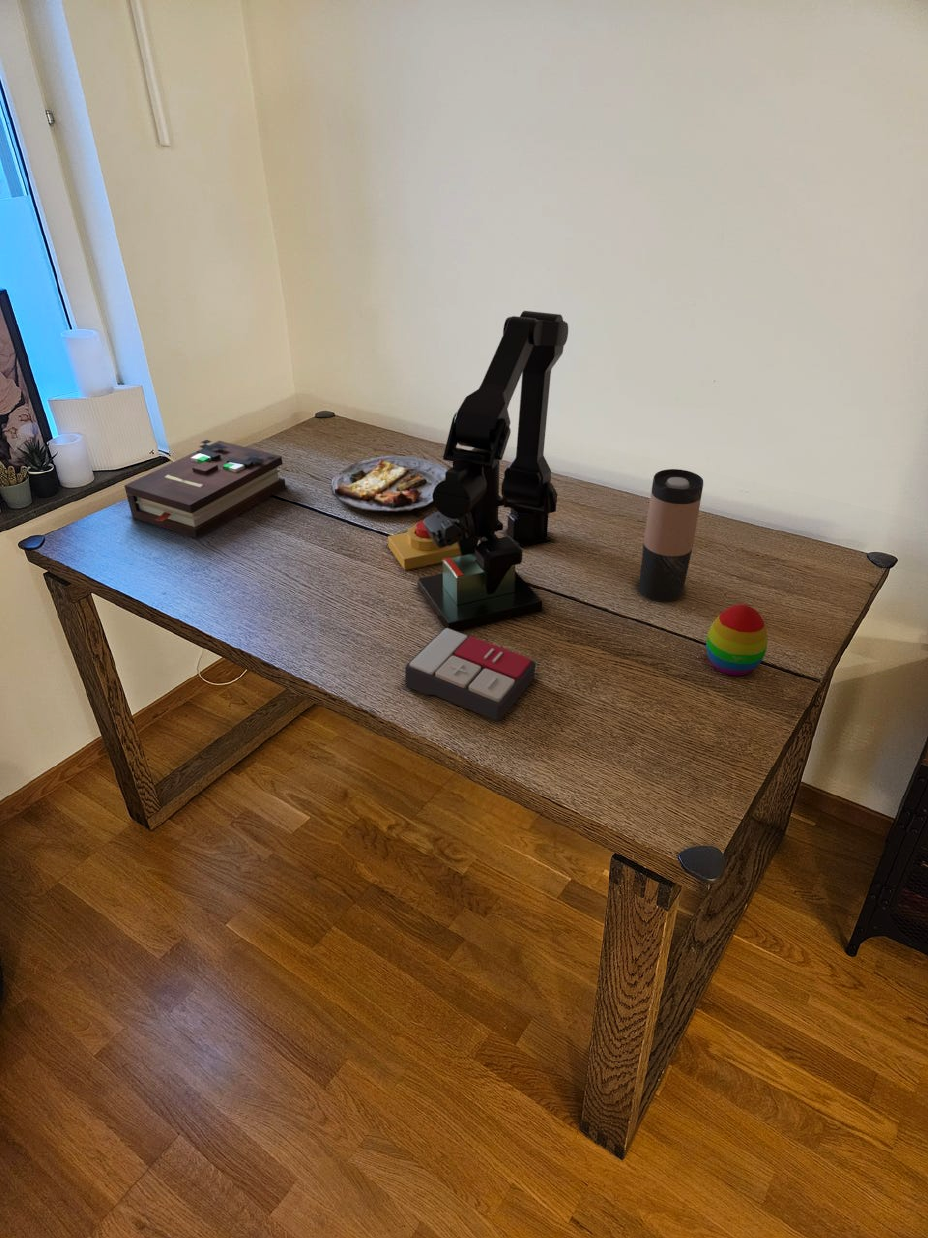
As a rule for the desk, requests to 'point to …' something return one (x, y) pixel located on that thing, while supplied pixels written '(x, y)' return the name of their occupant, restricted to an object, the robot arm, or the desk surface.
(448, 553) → the button block
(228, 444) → the decorative book
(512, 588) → the box
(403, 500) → the food plate
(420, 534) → the button
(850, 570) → the desk surface
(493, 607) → the black square platform
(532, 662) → the calculator
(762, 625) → the decorative egg
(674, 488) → the travel mug
